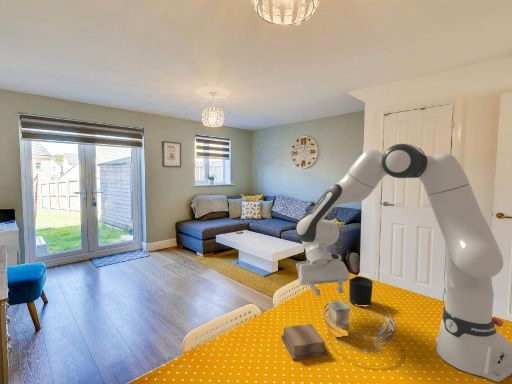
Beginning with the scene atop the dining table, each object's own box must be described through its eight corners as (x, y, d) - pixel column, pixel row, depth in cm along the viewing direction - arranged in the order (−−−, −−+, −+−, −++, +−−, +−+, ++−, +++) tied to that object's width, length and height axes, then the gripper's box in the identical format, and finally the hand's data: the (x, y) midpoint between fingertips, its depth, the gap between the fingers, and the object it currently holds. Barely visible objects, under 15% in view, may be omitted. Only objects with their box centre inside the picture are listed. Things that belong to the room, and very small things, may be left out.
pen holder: (346, 297, 120) (347, 275, 120) (367, 298, 120) (368, 276, 119) (351, 307, 111) (352, 284, 110) (374, 308, 110) (375, 285, 110)
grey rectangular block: (340, 327, 96) (341, 301, 96) (349, 336, 91) (350, 308, 91) (327, 329, 95) (328, 302, 94) (335, 338, 90) (336, 309, 89)
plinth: (311, 333, 93) (311, 322, 92) (327, 355, 82) (327, 342, 81) (281, 337, 90) (281, 326, 90) (293, 360, 79) (293, 347, 79)
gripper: (296, 258, 103) (306, 293, 94) (343, 254, 108) (357, 288, 99) (292, 265, 108) (301, 299, 99) (337, 261, 112) (350, 294, 104)
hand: (329, 293), depth 99 cm, fingers open, 8 cm apart
